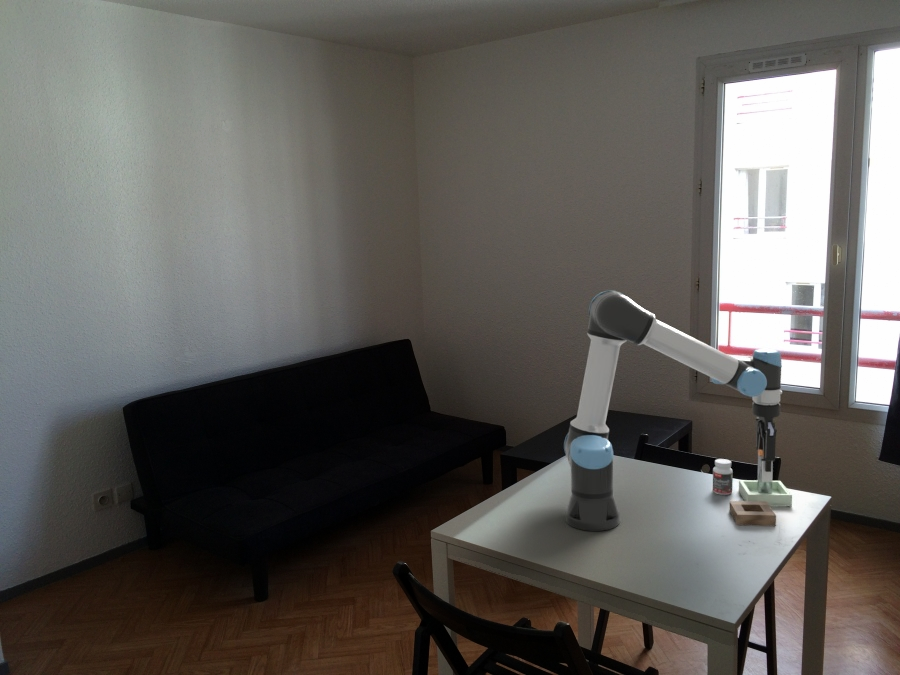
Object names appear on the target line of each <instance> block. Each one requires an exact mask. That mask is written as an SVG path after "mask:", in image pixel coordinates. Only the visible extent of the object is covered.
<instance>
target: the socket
mask: <svg viewBox="0 0 900 675" xmlns="http://www.w3.org/2000/svg"><path fill="white" fill-rule="evenodd" d="M771 507H772V506H769V505H768V503H767V502H761V501H745V500H729V509H728V510H729V513H730V514H731V516H732V518H733V520H734V522H735V524H736V526H758V527H759V526H764V527H766V526H772V527H775V526H777V515H776V513H775V512H774V510H773V509H772V508H771Z"/></svg>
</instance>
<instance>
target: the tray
mask: <svg viewBox="0 0 900 675" xmlns="http://www.w3.org/2000/svg"><path fill="white" fill-rule="evenodd" d="M738 492H739V494H740V495H741V497H742V498H743V501H761V502H767V503H768V505H769V506H770V507H778V506H790V507H789V508H791V507H792V506H793V494H792V493H791V492H790V491H789V490H788V488H787V486H785V485H784V484H783V482H782V481H781V480H772V494H761V493H758V479H756V480H755V479H754V480H747V479H739V480H738Z"/></svg>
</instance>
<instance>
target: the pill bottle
mask: <svg viewBox="0 0 900 675" xmlns="http://www.w3.org/2000/svg"><path fill="white" fill-rule="evenodd" d="M714 465H715V466H714V467H713V468H712V492H713V493H714V494H716V495H720V496H728V495H731V494H732V493H733V477H734V476H733V473H734V472H733V469H732V468H731V467H732V461H731V460H729V459H727V458H726V459H724V458H718V459H715V460H714Z"/></svg>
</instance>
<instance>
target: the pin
mask: <svg viewBox="0 0 900 675" xmlns="http://www.w3.org/2000/svg"><path fill="white" fill-rule="evenodd" d="M761 459H763V448H761V449H758V450H757V480H758V493H761V494H772V482H762V461H761ZM773 465H774V464H773ZM773 465H772V474H773V472H774V470H773V468H774V466H773Z"/></svg>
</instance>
